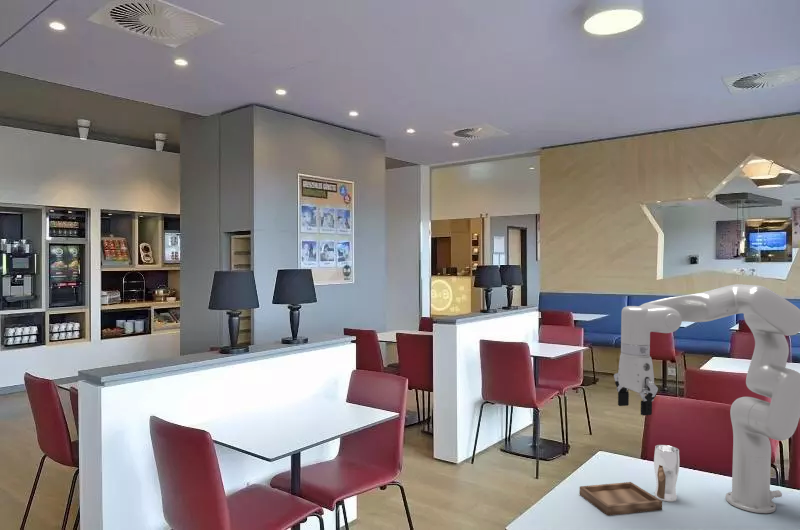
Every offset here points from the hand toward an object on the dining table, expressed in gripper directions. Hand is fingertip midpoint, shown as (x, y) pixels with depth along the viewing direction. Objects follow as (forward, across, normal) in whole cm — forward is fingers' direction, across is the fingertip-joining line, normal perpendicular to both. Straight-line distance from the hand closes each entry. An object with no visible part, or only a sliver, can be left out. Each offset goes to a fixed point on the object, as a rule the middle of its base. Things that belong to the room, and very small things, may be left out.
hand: (634, 410), depth 157 cm
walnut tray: (+29, +7, -1) cm, 30 cm away
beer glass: (+30, +6, -16) cm, 35 cm away
